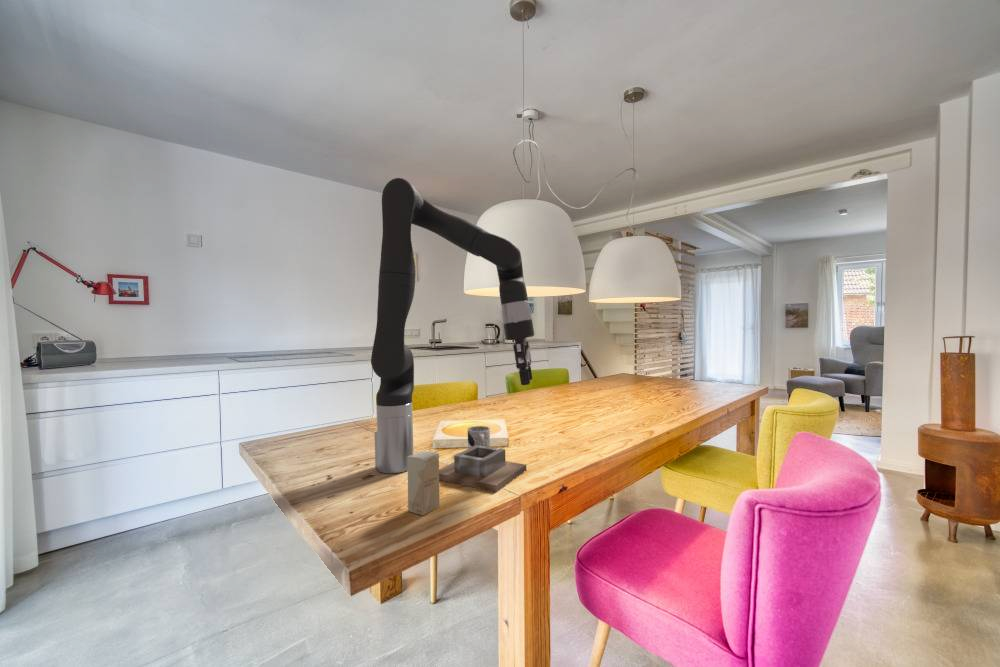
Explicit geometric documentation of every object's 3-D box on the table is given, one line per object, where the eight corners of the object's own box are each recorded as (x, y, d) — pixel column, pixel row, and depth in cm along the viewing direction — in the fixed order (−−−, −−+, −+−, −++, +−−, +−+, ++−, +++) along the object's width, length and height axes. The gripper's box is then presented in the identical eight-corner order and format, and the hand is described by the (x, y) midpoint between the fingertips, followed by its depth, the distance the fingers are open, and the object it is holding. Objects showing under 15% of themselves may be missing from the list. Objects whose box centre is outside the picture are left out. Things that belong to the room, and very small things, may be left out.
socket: (433, 478, 95) (432, 456, 95) (468, 460, 108) (467, 440, 108) (496, 492, 86) (495, 467, 86) (526, 470, 99) (525, 448, 99)
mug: (466, 448, 119) (466, 427, 119) (487, 446, 121) (487, 425, 121) (471, 458, 109) (471, 435, 109) (494, 456, 111) (494, 433, 111)
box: (423, 516, 76) (421, 459, 76) (407, 511, 78) (405, 456, 78) (440, 505, 80) (439, 452, 80) (425, 501, 82) (424, 449, 82)
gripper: (506, 323, 108) (515, 380, 108) (499, 322, 94) (509, 388, 94) (533, 318, 107) (542, 377, 107) (529, 317, 93) (540, 384, 93)
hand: (527, 382), depth 100 cm, fingers open, 8 cm apart
